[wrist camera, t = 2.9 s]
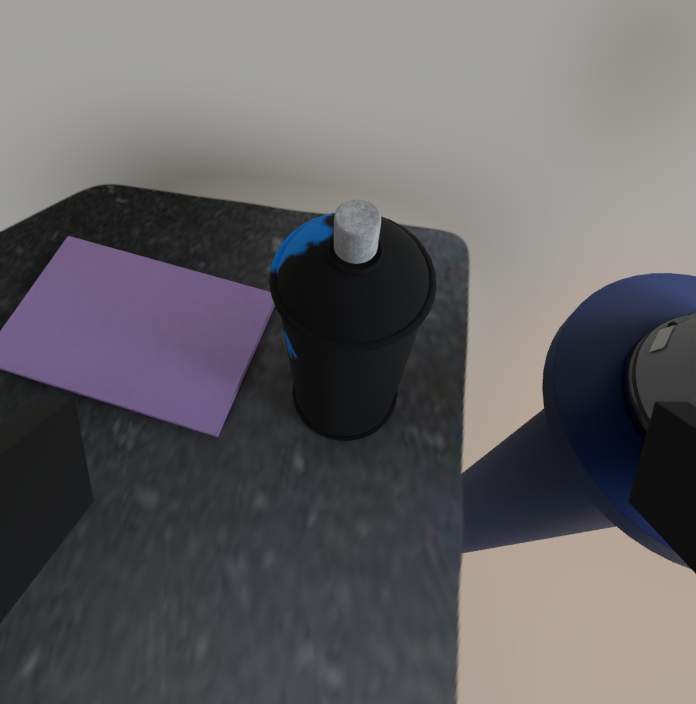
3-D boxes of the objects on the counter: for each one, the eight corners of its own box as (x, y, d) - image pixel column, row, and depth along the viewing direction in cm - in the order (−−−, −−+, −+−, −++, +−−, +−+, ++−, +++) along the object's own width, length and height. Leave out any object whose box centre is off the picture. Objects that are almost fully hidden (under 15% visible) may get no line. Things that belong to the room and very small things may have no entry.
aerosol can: (413, 372, 38) (487, 190, 20) (366, 461, 35) (404, 338, 17) (325, 328, 40) (321, 121, 22) (272, 409, 36) (215, 245, 18)
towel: (278, 297, 41) (277, 294, 40) (217, 437, 35) (216, 435, 35) (71, 239, 43) (68, 235, 42) (-17, 364, 37) (-22, 361, 37)
